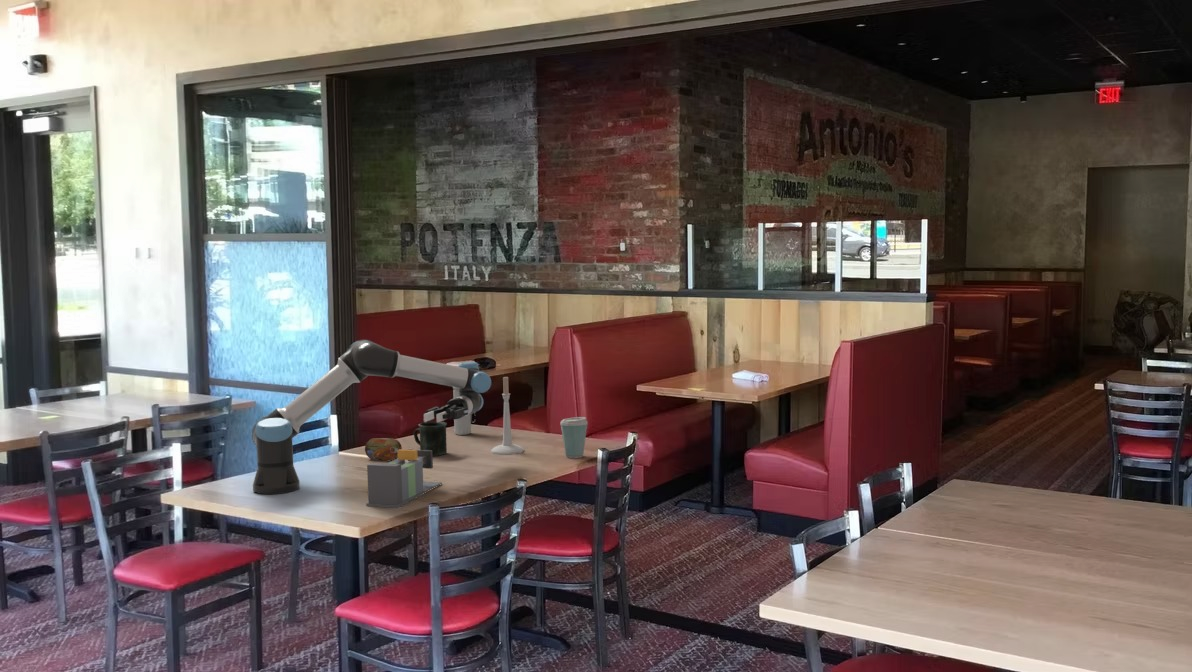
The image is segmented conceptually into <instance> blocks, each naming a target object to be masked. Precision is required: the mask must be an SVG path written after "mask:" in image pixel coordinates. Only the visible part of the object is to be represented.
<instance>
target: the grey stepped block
mask: <svg viewBox="0 0 1192 672" xmlns="http://www.w3.org/2000/svg"><path fill="white" fill-rule="evenodd" d="M405 462H406V460H402V459H398V458H397V459H395V460H392V461H388V462H386V463H385V462H384V463H383V462H371V463H368V464H366V470H367V471H366V472H367V496H368V497H367V499H368V502H366V507H376V506H378V508H379V507H381V508H395V509H396V508H397V509H399V508H400V507H402V506H404V505H406V504H408V503H410V502H412V501H414V500H415V499H414V498H416V497H418V496H419V497H421V496H423V495H424V494H423V493H425V492H427V491H428V490H430V489H432V488H434V487H436V486H438V485H440V484H442V485H443V483H442V481H425V480H424V470H423V469H424V468H423V462H422V460H413V461H410V462H408V463H406V464H404V465H401V464H403V463H405ZM440 486H441V485H440ZM438 487H439V486H438ZM436 488H437V487H436ZM427 493H428V492H427ZM422 494H423V495H422ZM425 494H426V493H425ZM420 495H421V496H420ZM419 497H418V498H419ZM413 499H414V500H413ZM416 499H417V498H416ZM411 500H412V501H411ZM409 501H410V502H409ZM407 502H408V503H407Z"/></svg>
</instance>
